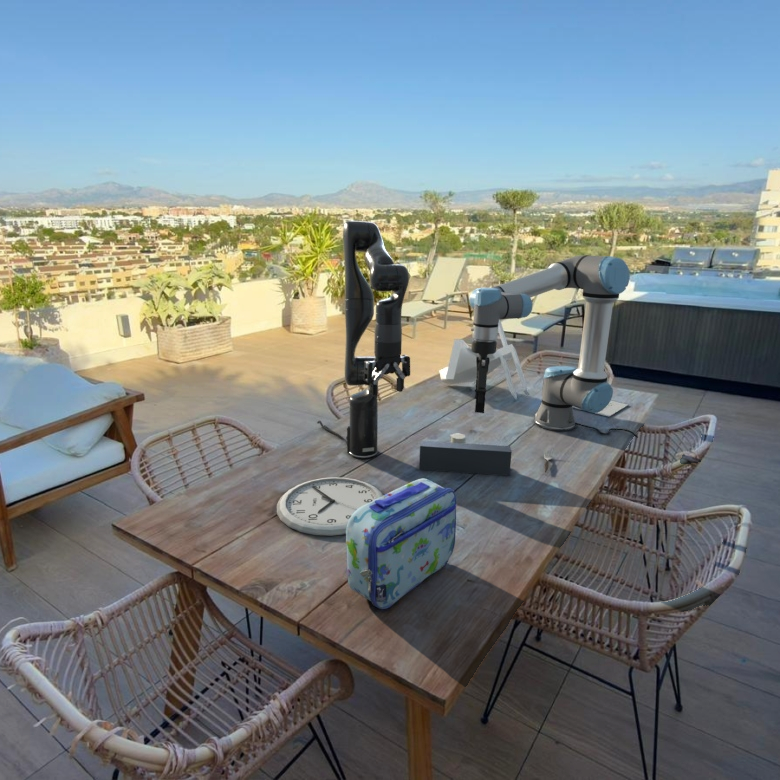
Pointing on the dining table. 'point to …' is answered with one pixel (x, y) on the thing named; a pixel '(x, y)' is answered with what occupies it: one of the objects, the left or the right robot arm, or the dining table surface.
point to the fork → (547, 459)
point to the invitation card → (611, 408)
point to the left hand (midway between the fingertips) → (387, 393)
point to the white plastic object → (466, 367)
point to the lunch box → (400, 540)
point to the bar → (465, 458)
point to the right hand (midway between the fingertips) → (479, 405)
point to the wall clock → (324, 504)
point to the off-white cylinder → (458, 438)
